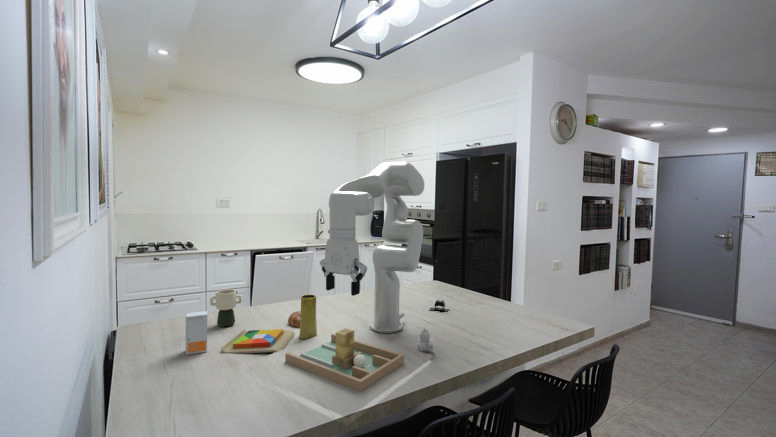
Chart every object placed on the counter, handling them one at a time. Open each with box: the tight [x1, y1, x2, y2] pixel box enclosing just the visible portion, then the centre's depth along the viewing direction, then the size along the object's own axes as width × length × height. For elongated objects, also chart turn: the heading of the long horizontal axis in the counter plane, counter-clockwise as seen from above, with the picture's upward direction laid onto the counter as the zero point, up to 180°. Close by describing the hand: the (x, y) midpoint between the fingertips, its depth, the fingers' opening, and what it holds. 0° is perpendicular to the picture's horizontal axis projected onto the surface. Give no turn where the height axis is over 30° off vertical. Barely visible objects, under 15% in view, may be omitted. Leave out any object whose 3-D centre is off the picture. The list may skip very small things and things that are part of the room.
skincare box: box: [185, 310, 208, 356], centre depth 114 cm, size 6×4×12 cm
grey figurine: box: [416, 327, 434, 354], centre depth 117 cm, size 5×7×8 cm
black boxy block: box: [428, 299, 450, 313], centre depth 163 cm, size 12×7×5 cm, turn 73°
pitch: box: [284, 333, 405, 393], centre depth 106 cm, size 20×28×4 cm
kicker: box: [332, 327, 362, 370], centre depth 105 cm, size 7×6×9 cm
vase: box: [299, 293, 318, 340], centre depth 129 cm, size 6×6×14 cm
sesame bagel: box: [287, 310, 301, 328], centre depth 143 cm, size 12×11×4 cm
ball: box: [353, 354, 366, 368], centre depth 103 cm, size 4×4×4 cm
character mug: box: [209, 288, 243, 327], centre depth 138 cm, size 11×7×13 cm, turn 113°
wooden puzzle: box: [221, 328, 295, 355], centre depth 122 cm, size 18×19×4 cm
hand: (342, 291), depth 108 cm, fingers open, 9 cm apart
